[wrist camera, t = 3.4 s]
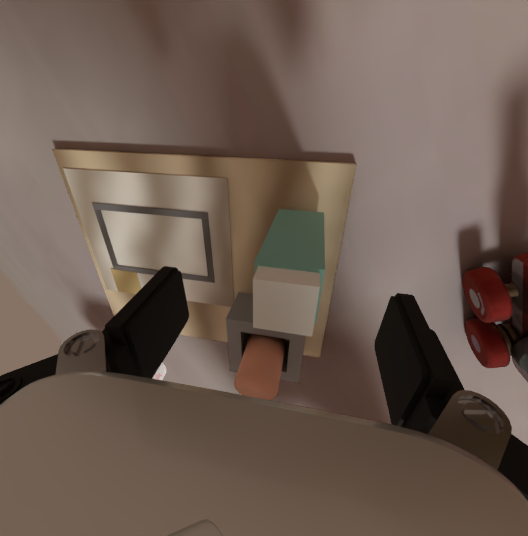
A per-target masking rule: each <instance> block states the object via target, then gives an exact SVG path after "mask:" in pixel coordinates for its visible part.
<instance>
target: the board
mask: <svg viewBox="0 0 528 536" xmlns="http://www.w3.org/2000/svg"><path fill="white" fill-rule="evenodd" d="M52 150H53V153H54V156H55V158H56V161H57V164H58V167H59V169H60V172H61V175H62V177H63V180H64V183H65V185H66V188H67V191H68V193H69V196H70V199H71V202H72V204H73V207H74V210H75V212H76V215H77V218H78V220H79V223H80V226H81V229H82V231H83V234H84V237H85V239H86V242H87V245H88V247H89V250H90V253H91V255H92V258H93V261H94V264H95V266H96V269H97V272H98V274H99V277H100V280H101V282H102V285H103V288H104V291H105V293H106V296H107V299H108V301H109V304H110V307H111V309H112V312H113V315H114V316H115V315H116V314H117V313H118V312H119V311H120V310H121V309H122V308H123V307H124V306H125V305H126V304H127V303H128V302H129V301H130V300H131V299H132V298H133V297H134V296H135V295H136V294H137V293H138V292H139V291H140V290H141V289H142V287H143V286H144V285H145V284H146V283H147V282H148V281H149V280H150V279H151V278H152V277H153V276H154V275H155V274H156V273H157V272H158V271H159V270H160V269H161V268H162V267H164V266H169V267H176V268H177V269H178V271H181V273H182V279H183V284H184V289H185V295H186V300H187V305H188V311H189V319H188V321H187V323H186V325H185V326H184V328H183V329H182V331H181V333H180V335H186V336H192V337H198V338H204V339H210V340H216V341H222V342H228V340H227V327H226V317H227V315H228V313H229V311H230V309H231V307H232V305H233V303H234V300H235V298H236V296H237V294H238V292H241V293H249V294H253V277H254V262H255V259H256V257H257V255H258V253H259V251H260V249H261V246H262V244H263V242H264V240H265V238H266V236H267V233H268V231H269V229H270V227H271V225H272V223H273V220H274V218H275V216H276V214H277V212H278V210H279V209H286V210H299V211H312V212H324V240H325V273H324V279H323V285H322V291H321V297H320V303H319V309H318V315H317V321H316V324H315V323H314V328H313V334H312V337H311V336H306V338H305V345H304V352H303V355H307V356H313V357H319V358H320V353H321V348H322V343H323V337H324V332H325V327H326V322H327V316H328V311H329V306H330V301H331V296H332V290H333V285H334V280H335V275H336V269H337V264H338V259H339V254H340V249H341V243H342V238H343V233H344V228H345V222H346V217H347V212H348V207H349V201H350V196H351V191H352V186H353V181H354V175H355V170H356V165H357V164H356V163H345V162H324V161H304V160H283V159H263V158H243V157H222V156H202V155H181V154H161V153H140V152H120V151H99V150H79V149H52ZM285 340H286V341H290V339H285Z"/></svg>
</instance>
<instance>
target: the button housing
mask: <svg viewBox="0 0 528 536" xmlns="http://www.w3.org/2000/svg"><path fill="white" fill-rule="evenodd" d="M226 327H227V340H228V353H229V366H230V371H234V372H238V369H239V366H240V363H241V360H242V357H243V354H244V351H245V348H246V345H247V342H248V339H249V336H250V334H258V335H264V336H270V337H277V338H283V339H290V341H286V340H285V342H286V345H285V351H284V358H283V364H282V370H281V377H280V380H283V381H288V382H294V383H299V380H300V373H301V366H302V359H303V352H304V345H305V338H306V336H304V335H298V334H291V333H285V332H278V331H272V330H265V329H259V328H253V294H249V293H241V292H238V294H237V296H236V298H235V300H234V303H233V305H232V307H231V309H230V311H229V313H228V315H227V317H226Z"/></svg>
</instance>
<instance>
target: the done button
mask: <svg viewBox="0 0 528 536" xmlns="http://www.w3.org/2000/svg"><path fill="white" fill-rule="evenodd" d="M285 345H286V342H285V339H283V338H277V337H270V336H264V335H258V334H250V336H249V339H248V342H247V345H246V348H245V351H244V354H243V357H242V360H241V363H240V366H239V369H238V372H237V375H236V378H235V382H234V384H235V388H236V389H237V391H238V392H239V393H240V394H241V395H244V396H249V397H254V398H260V399H265V400H272V399H274V398H275V397H276V396H277V394H278V389H279V383H280V377H281V370H282V364H283V358H284V351H285Z"/></svg>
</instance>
